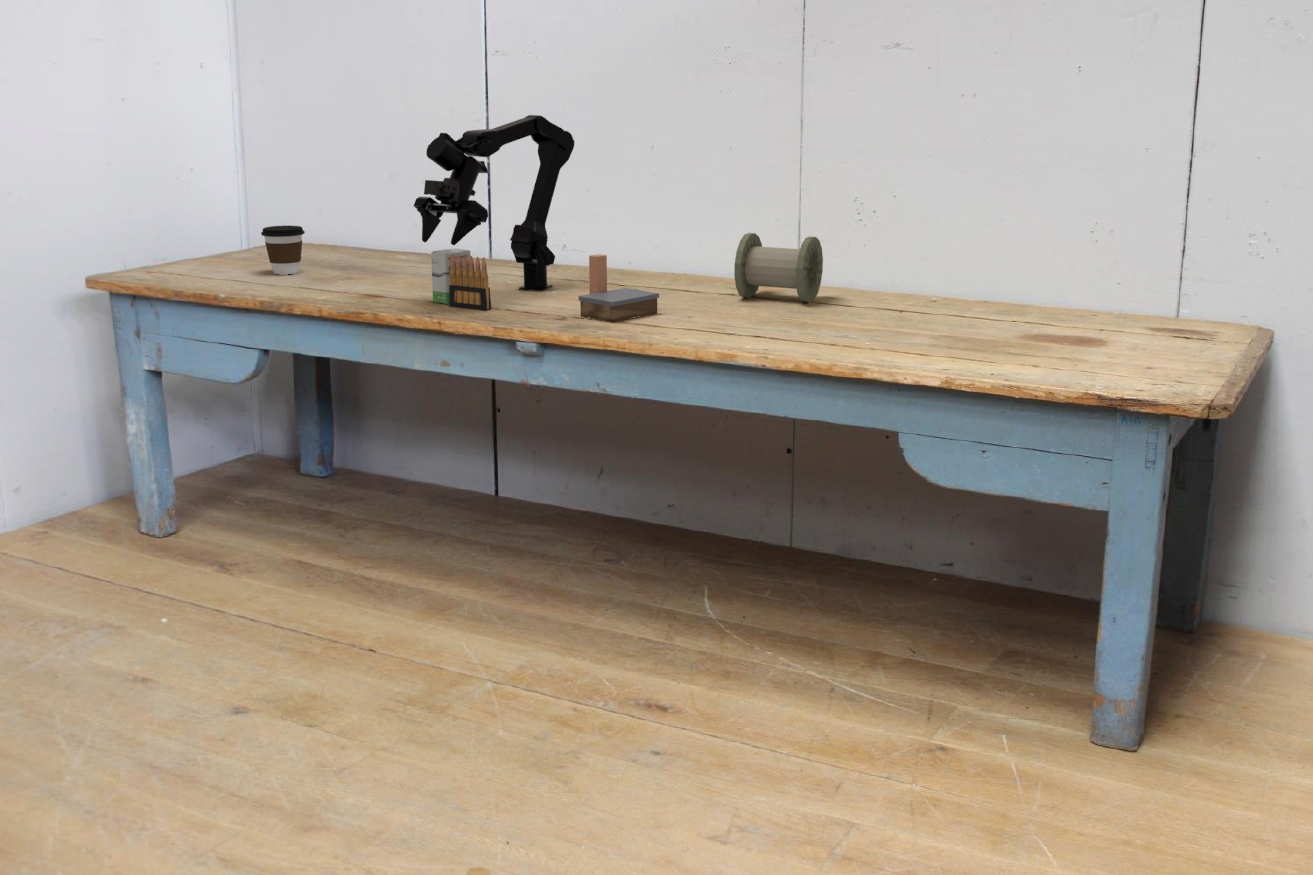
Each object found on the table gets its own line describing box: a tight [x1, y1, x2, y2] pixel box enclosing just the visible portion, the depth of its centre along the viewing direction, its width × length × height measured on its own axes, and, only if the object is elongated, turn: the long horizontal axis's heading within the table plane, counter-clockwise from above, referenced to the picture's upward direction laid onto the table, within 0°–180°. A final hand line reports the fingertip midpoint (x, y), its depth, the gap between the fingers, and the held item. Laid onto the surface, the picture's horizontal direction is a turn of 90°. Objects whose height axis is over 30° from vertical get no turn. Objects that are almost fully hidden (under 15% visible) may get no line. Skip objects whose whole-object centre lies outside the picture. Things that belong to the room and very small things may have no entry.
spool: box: [733, 232, 824, 304], centre depth 303 cm, size 16×15×15 cm
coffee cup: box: [261, 225, 306, 276], centre depth 340 cm, size 11×11×12 cm
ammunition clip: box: [448, 254, 492, 312], centre depth 293 cm, size 11×2×12 cm, turn 60°
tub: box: [579, 298, 658, 323], centre depth 286 cm, size 10×14×4 cm
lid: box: [577, 253, 660, 307], centre depth 285 cm, size 13×15×9 cm
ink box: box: [430, 248, 471, 305], centre depth 302 cm, size 9×5×12 cm, turn 144°
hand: (438, 243), depth 292 cm, fingers open, 9 cm apart
